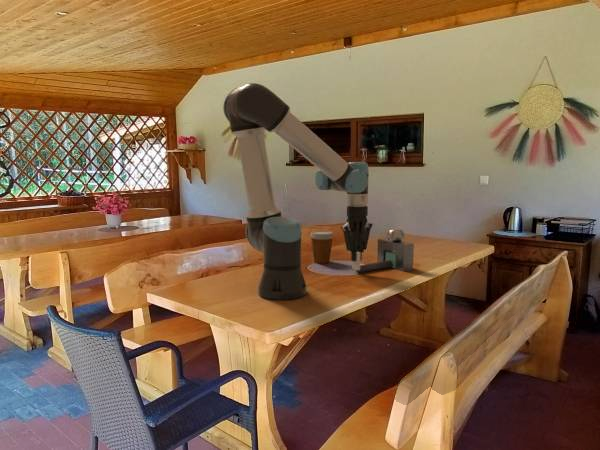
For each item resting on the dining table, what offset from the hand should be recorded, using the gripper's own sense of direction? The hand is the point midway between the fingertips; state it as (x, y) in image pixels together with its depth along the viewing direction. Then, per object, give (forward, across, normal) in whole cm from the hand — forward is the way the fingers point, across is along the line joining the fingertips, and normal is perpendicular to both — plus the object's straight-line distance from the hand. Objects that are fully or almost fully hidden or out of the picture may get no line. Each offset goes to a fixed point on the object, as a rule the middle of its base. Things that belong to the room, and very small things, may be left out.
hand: (356, 269), depth 180 cm
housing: (+2, +19, 0) cm, 19 cm away
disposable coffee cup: (+2, 0, +22) cm, 22 cm away
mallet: (+1, +12, 0) cm, 12 cm away
